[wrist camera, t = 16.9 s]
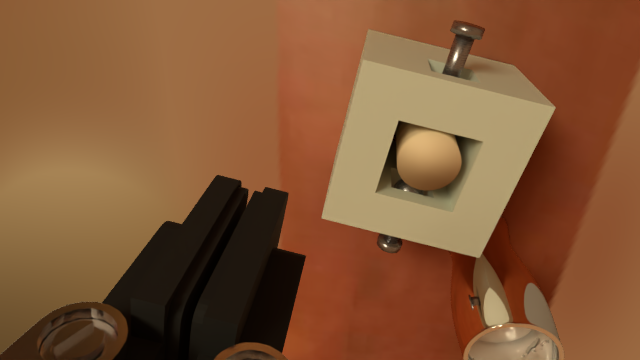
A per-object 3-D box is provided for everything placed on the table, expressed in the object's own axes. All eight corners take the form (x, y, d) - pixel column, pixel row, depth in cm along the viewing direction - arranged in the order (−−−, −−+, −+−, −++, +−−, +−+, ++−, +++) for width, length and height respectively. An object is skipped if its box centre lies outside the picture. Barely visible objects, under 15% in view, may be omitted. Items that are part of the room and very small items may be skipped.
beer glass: (525, 213, 42) (589, 339, 29) (493, 268, 45) (537, 402, 32) (454, 193, 42) (485, 310, 29) (427, 249, 45) (444, 376, 32)
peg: (403, 80, 37) (407, 127, 29) (452, 92, 37) (471, 143, 29) (388, 125, 39) (389, 182, 31) (435, 136, 39) (448, 197, 31)
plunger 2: (449, 115, 32) (454, 128, 30) (417, 107, 32) (419, 119, 30) (484, 26, 29) (491, 33, 27) (448, 17, 29) (453, 23, 27)
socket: (368, 29, 36) (363, 59, 27) (514, 65, 36) (555, 107, 27) (334, 159, 42) (321, 218, 33) (459, 190, 42) (479, 258, 33)
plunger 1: (396, 168, 35) (397, 183, 33) (426, 176, 35) (429, 191, 33) (374, 233, 38) (374, 250, 36) (402, 240, 38) (402, 257, 36)
